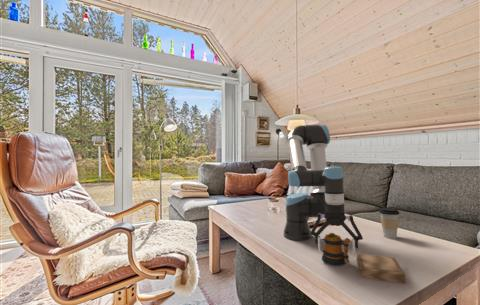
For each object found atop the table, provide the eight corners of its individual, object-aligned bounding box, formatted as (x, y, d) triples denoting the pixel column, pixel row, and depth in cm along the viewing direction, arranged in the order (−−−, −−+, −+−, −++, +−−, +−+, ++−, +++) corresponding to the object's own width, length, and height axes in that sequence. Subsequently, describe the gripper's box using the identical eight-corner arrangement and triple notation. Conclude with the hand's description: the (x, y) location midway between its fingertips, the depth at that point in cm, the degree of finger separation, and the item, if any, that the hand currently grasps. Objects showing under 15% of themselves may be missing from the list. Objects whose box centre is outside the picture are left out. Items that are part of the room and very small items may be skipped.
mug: (316, 259, 101) (315, 232, 101) (331, 253, 106) (330, 228, 106) (342, 271, 89) (341, 241, 90) (358, 264, 95) (357, 236, 95)
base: (360, 276, 85) (360, 268, 85) (356, 260, 98) (356, 253, 98) (405, 283, 80) (405, 274, 80) (395, 265, 93) (395, 257, 93)
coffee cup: (404, 240, 119) (402, 211, 119) (383, 239, 121) (382, 210, 121) (395, 234, 128) (394, 207, 128) (376, 233, 130) (375, 206, 130)
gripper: (303, 203, 99) (304, 253, 99) (369, 206, 90) (371, 261, 89) (305, 200, 106) (306, 246, 106) (366, 202, 97) (368, 253, 96)
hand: (336, 253), depth 98 cm, fingers open, 13 cm apart
